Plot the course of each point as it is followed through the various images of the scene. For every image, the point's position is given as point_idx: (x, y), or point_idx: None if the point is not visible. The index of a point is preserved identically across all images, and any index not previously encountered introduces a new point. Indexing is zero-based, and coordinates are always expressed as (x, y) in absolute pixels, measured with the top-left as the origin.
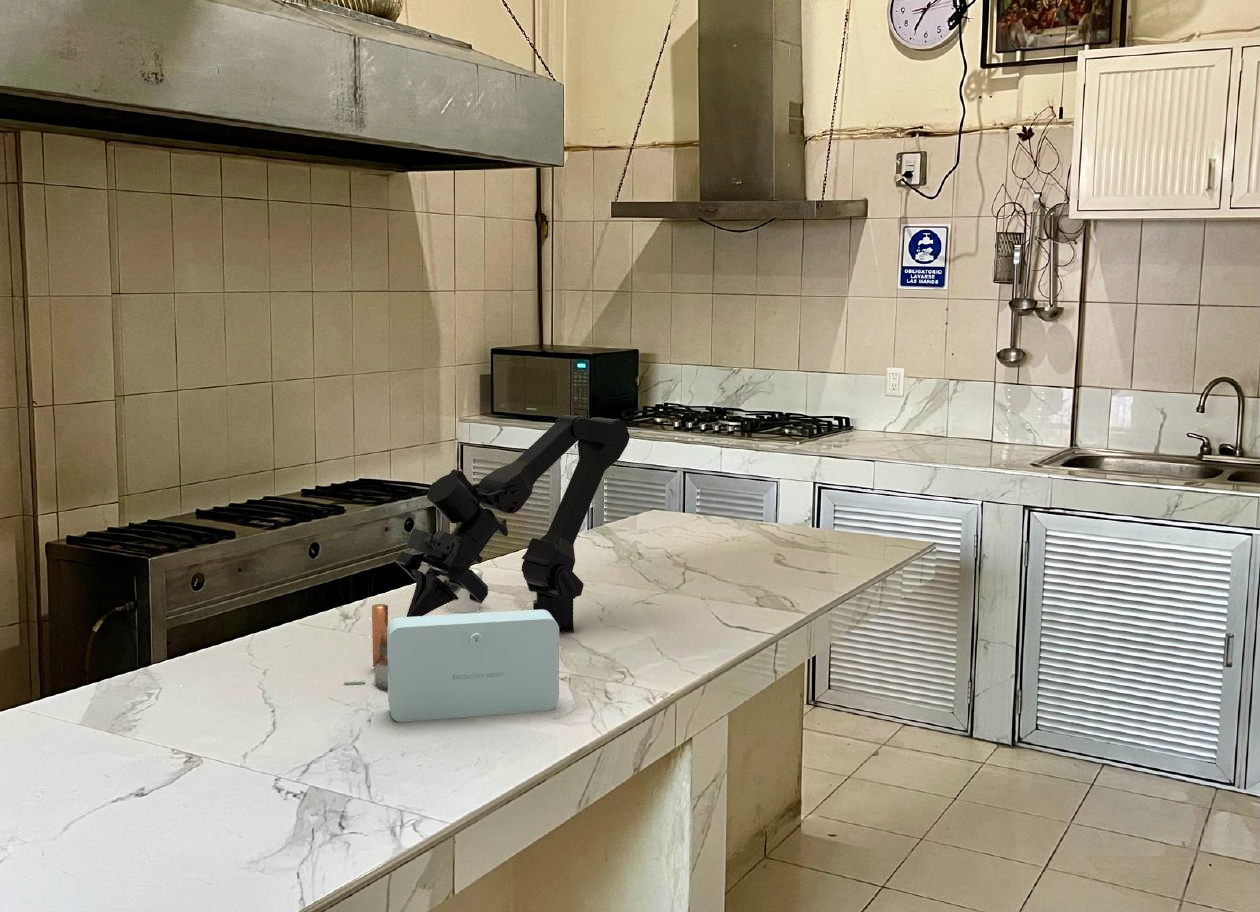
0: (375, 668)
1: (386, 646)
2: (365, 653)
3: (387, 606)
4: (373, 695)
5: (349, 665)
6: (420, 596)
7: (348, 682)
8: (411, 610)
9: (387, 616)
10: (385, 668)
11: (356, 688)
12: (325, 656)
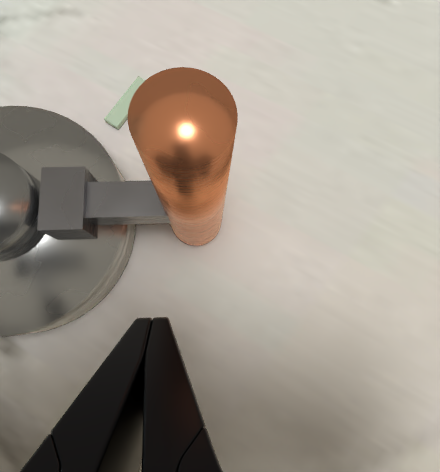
0: (60, 115)
1: (132, 190)
2: (370, 266)
3: (143, 151)
4: (9, 96)
5: (287, 170)
6: (92, 453)
7: (133, 86)
8: (140, 346)
9: (150, 175)
10: (34, 138)
11: (92, 90)
12: (408, 159)
